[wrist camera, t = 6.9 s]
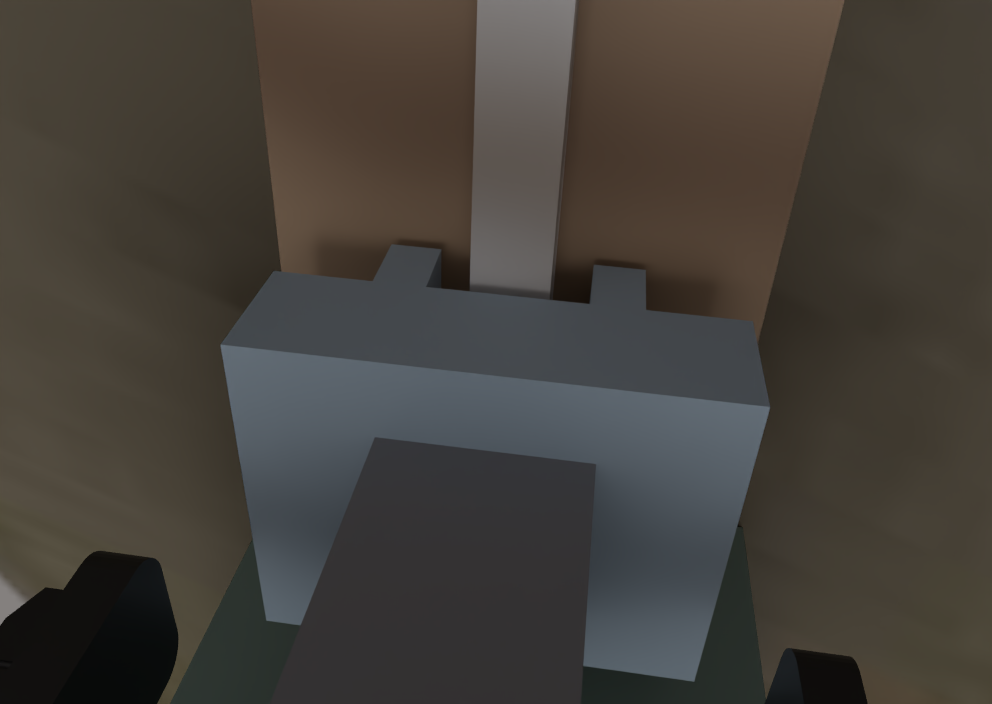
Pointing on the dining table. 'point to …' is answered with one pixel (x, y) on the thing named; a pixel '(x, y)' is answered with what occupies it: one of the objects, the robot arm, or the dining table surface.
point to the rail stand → (544, 140)
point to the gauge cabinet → (605, 693)
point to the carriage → (487, 481)
